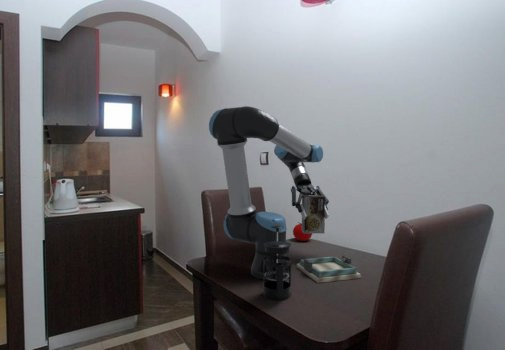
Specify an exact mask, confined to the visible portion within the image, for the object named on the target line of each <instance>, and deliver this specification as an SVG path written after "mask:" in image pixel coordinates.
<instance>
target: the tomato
mask: <svg viewBox="0 0 505 350" xmlns="http://www.w3.org/2000/svg"><path fill="white" fill-rule="evenodd" d="M292 234H293V237H294V238H295V239H296V240H297V241H300V242H305V241H309V240H310V239H311V237H312V236H313V234H304V233H303V232H302V222H297V224H295V226H294V227H293V229H292Z"/></svg>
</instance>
